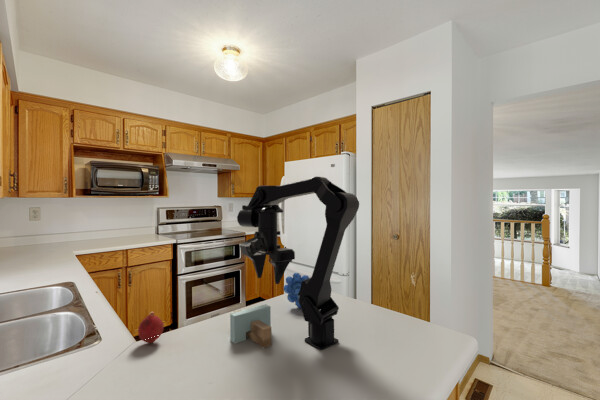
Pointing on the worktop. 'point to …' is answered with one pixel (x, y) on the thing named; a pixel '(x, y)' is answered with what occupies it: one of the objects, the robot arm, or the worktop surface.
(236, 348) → the worktop surface
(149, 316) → the onion
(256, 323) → the slot rail
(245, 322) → the cross plate
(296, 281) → the grapes
